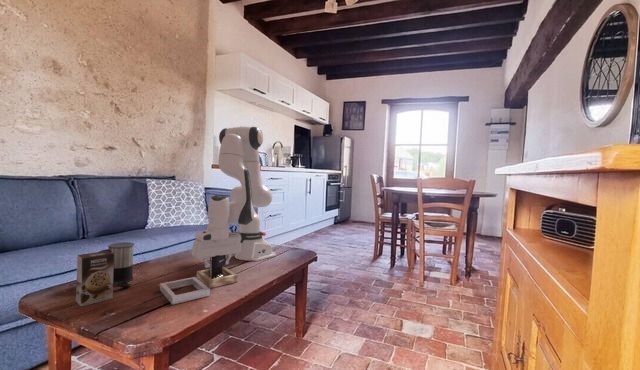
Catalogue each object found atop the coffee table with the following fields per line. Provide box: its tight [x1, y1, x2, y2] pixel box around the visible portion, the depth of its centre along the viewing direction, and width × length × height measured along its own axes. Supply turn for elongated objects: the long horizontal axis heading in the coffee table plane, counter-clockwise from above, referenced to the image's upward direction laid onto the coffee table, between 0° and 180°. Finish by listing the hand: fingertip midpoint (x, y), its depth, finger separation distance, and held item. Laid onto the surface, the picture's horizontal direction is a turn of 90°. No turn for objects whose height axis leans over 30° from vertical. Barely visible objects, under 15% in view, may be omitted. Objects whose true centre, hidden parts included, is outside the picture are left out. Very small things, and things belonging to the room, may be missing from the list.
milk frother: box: [98, 241, 135, 289], centre depth 117 cm, size 14×16×15 cm
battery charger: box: [209, 255, 227, 279], centre depth 126 cm, size 7×4×11 cm, turn 161°
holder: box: [159, 276, 211, 306], centre depth 111 cm, size 13×16×2 cm
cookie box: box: [75, 251, 114, 307], centre depth 101 cm, size 9×6×16 cm
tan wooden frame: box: [196, 266, 239, 289], centre depth 125 cm, size 12×14×3 cm
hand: (216, 265), depth 125 cm, fingers open, 7 cm apart
